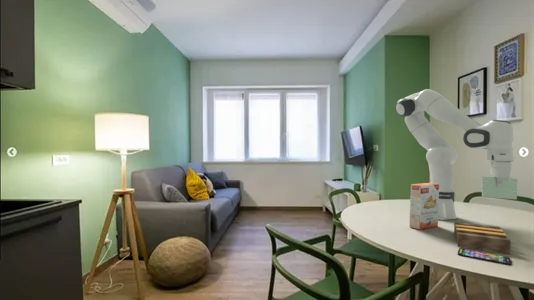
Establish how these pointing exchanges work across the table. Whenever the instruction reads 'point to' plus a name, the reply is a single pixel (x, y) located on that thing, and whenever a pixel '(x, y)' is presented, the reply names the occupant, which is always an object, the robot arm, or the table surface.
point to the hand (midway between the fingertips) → (498, 187)
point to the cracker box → (424, 205)
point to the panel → (494, 192)
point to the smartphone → (484, 256)
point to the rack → (481, 237)
